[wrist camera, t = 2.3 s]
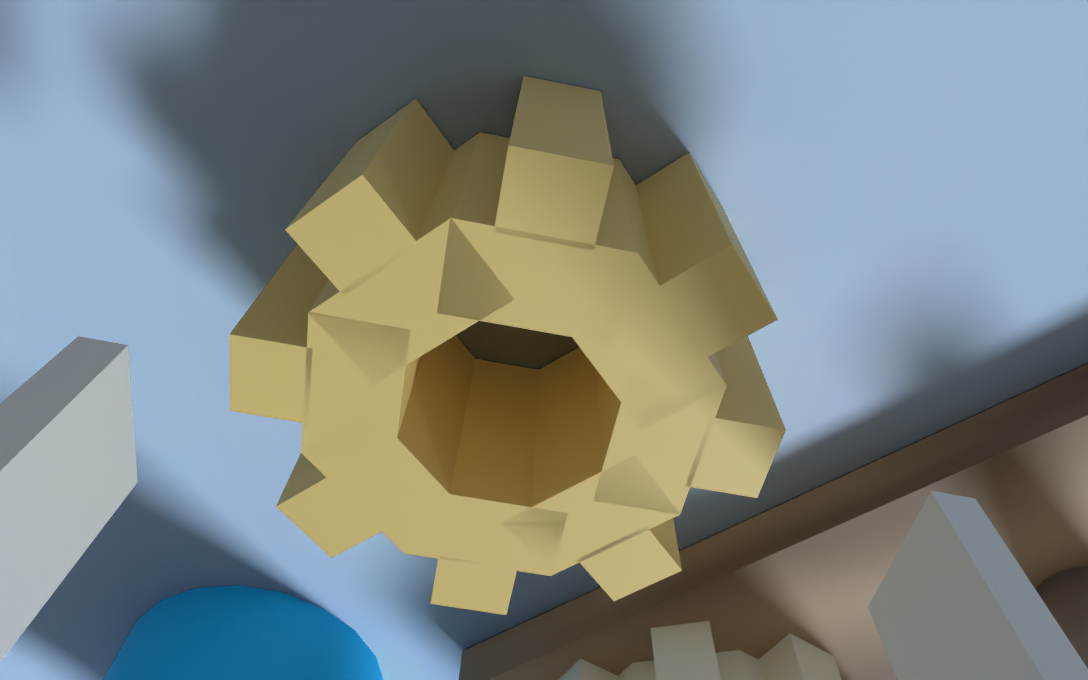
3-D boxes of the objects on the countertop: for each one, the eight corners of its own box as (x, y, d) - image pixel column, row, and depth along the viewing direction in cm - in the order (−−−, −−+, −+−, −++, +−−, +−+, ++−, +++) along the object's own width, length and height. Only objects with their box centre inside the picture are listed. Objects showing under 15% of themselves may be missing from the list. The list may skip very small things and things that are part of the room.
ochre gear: (219, 241, 18) (111, 353, 14) (583, -25, 15) (590, 12, 11) (477, 517, 22) (455, 673, 18) (805, 347, 19) (876, 482, 15)
